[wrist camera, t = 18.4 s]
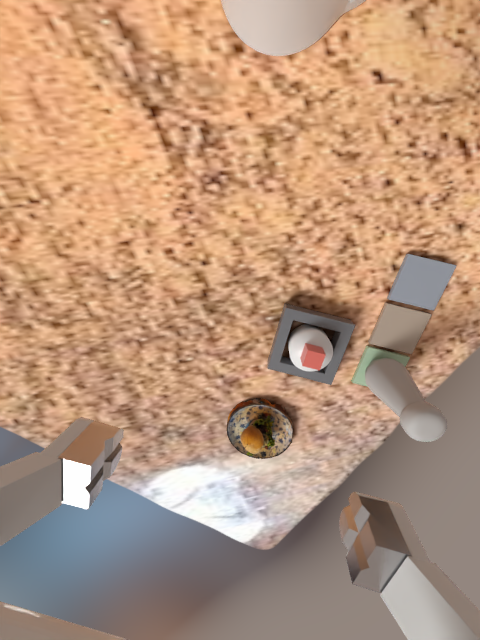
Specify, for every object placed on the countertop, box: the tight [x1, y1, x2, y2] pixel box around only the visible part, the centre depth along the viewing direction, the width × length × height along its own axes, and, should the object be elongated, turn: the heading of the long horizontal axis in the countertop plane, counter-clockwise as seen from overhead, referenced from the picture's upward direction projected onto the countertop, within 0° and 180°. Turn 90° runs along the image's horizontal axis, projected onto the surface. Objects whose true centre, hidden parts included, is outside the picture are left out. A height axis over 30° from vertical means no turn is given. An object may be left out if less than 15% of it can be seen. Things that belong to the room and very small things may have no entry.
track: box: [351, 254, 457, 387], centre depth 38 cm, size 20×6×1 cm, turn 167°
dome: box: [288, 324, 333, 372], centre depth 37 cm, size 6×6×6 cm
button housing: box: [268, 304, 355, 385], centre depth 39 cm, size 10×10×2 cm
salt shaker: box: [365, 358, 447, 442], centre depth 33 cm, size 6×6×13 cm
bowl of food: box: [227, 398, 293, 459], centre depth 43 cm, size 12×12×8 cm
